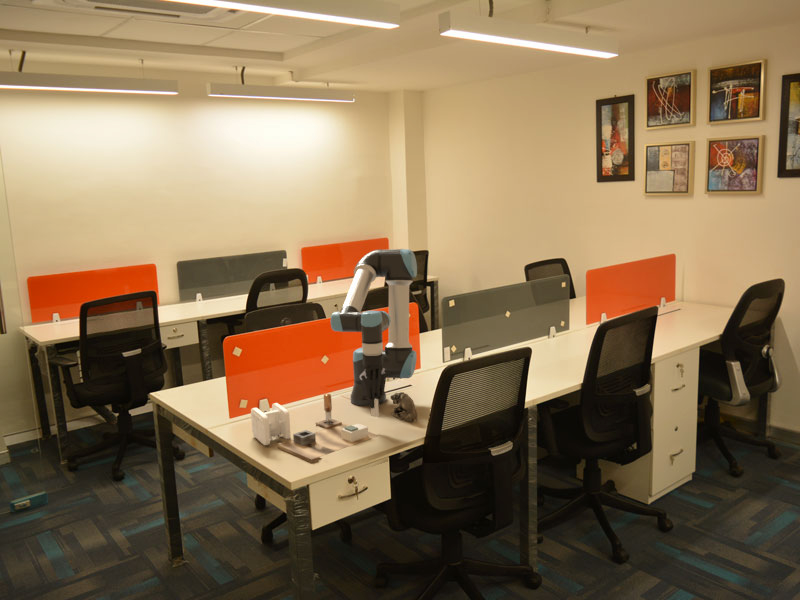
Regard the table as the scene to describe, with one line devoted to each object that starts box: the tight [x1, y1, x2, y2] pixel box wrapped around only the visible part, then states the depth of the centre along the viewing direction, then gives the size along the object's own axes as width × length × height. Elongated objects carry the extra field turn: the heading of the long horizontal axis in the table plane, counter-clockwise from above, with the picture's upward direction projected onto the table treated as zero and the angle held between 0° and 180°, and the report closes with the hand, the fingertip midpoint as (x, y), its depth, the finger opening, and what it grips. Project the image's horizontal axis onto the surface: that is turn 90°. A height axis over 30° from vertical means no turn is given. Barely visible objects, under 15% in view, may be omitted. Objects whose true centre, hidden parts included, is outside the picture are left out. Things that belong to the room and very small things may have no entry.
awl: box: [323, 393, 333, 424], centre depth 262 cm, size 3×3×13 cm
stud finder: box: [341, 423, 369, 442], centre depth 249 cm, size 8×6×4 cm
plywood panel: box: [277, 422, 379, 464], centre depth 247 cm, size 30×20×4 cm, turn 133°
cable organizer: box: [250, 402, 292, 446], centre depth 252 cm, size 15×11×12 cm
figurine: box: [390, 391, 418, 422], centre depth 271 cm, size 6×14×10 cm, turn 29°
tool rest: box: [315, 418, 343, 429], centre depth 263 cm, size 7×7×2 cm
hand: (374, 415), depth 254 cm, fingers closed
